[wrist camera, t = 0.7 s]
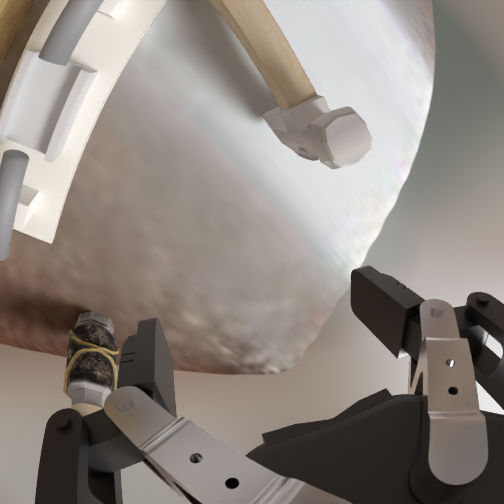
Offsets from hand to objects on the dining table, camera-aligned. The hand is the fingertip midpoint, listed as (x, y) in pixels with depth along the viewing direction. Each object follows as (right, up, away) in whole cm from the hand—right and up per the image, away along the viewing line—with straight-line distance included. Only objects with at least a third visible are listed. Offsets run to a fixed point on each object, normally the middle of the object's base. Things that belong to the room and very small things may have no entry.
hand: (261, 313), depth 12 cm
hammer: (-2, +27, +15) cm, 31 cm away
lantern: (-26, -9, +33) cm, 43 cm away
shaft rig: (-22, +19, +13) cm, 32 cm away
